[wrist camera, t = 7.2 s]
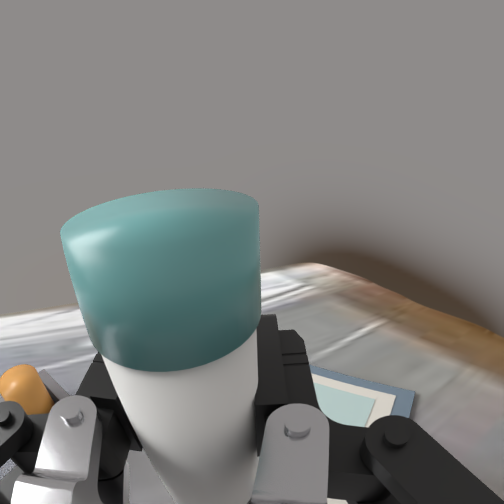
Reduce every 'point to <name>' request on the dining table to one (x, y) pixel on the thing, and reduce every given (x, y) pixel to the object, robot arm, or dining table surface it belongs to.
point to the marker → (178, 329)
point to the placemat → (357, 401)
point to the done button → (26, 389)
